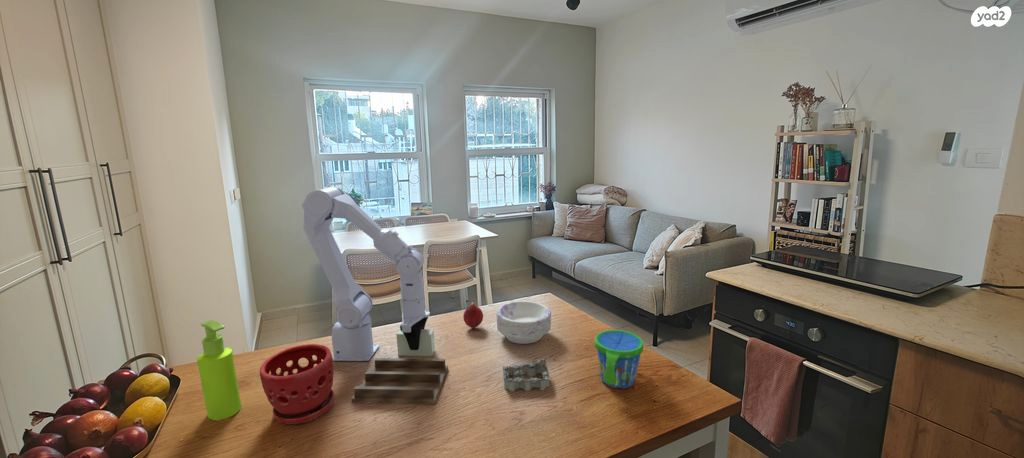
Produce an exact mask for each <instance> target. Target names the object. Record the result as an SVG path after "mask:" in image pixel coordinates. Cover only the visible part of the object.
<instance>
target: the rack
mask: <svg viewBox="0 0 1024 458" xmlns="http://www.w3.org/2000/svg"><path fill="white" fill-rule="evenodd" d="M448 371H449V365H446V358H400V357H398V358H397V357H396V358H391V357H389V358H387V357H386V358H383V357H375V358H374V366H373V367H372V369H371V370H369V371H365V373H364V378H365V379H364V380H363V382H362V383H361V384H360V385H356V386H354V388H353V395H352V397H351V398H350V399H351V403H352V404H394V405H395V404H397V405H398V404H399V405H400V404H403V405H407V404H408V405H410V404H411V405H436V402H437V399H438V397H439V394H440V393H441V389H442V386H443V384H444V381H445V380H446V379H445V378H446V375H447V373H448Z"/></svg>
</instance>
